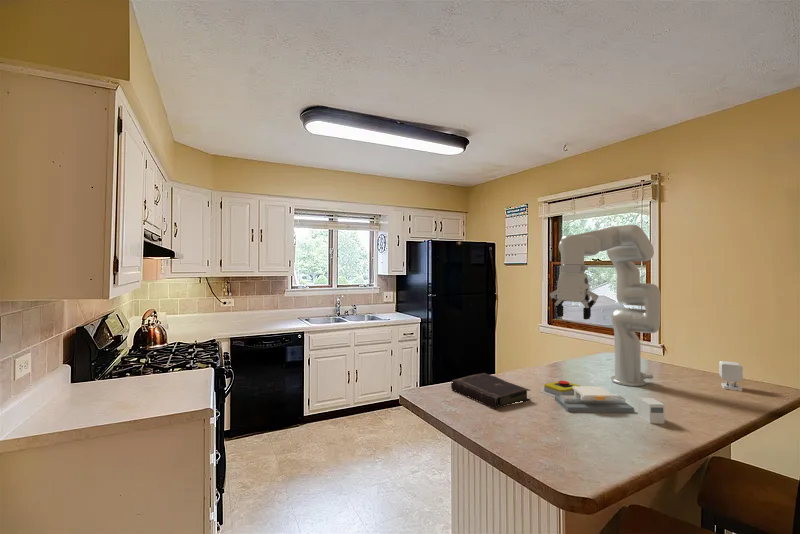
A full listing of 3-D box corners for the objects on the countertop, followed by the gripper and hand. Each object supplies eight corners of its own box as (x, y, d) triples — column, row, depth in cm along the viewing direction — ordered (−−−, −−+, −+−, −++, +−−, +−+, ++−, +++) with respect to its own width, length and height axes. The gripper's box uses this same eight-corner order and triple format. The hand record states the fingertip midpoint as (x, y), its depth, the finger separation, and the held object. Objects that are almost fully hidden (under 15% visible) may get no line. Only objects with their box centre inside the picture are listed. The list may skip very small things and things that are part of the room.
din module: (652, 416, 124) (652, 398, 124) (664, 423, 118) (664, 404, 118) (638, 416, 124) (638, 397, 124) (650, 423, 118) (649, 404, 118)
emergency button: (585, 382, 148) (558, 388, 141) (585, 394, 148) (558, 400, 141) (565, 376, 156) (538, 381, 150) (565, 387, 156) (539, 392, 150)
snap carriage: (600, 392, 138) (599, 386, 139) (615, 403, 128) (615, 396, 128) (572, 392, 139) (572, 386, 139) (585, 403, 128) (585, 396, 128)
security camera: (739, 387, 154) (739, 362, 154) (743, 391, 148) (743, 366, 148) (719, 384, 157) (718, 360, 157) (722, 389, 151) (722, 364, 152)
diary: (495, 411, 131) (494, 397, 131) (451, 391, 153) (450, 379, 153) (532, 401, 140) (532, 387, 140) (486, 384, 162) (485, 372, 162)
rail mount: (615, 400, 139) (615, 392, 139) (634, 412, 127) (633, 403, 127) (554, 399, 140) (554, 391, 140) (567, 411, 128) (567, 402, 128)
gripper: (602, 269, 130) (603, 319, 130) (555, 270, 144) (556, 314, 143) (592, 269, 125) (592, 321, 125) (544, 270, 139) (545, 316, 139)
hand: (573, 317), depth 134 cm, fingers open, 9 cm apart
